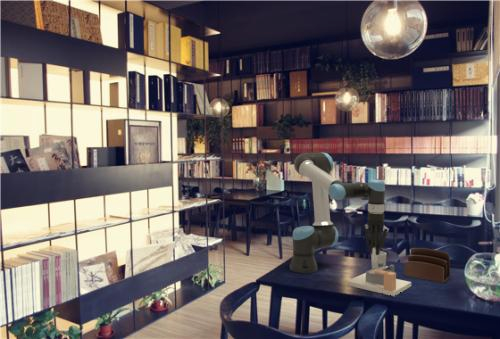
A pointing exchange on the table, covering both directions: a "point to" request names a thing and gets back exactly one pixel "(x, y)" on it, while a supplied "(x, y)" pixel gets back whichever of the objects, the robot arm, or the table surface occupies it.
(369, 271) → the translucent flat bar
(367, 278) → the board
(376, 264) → the cup
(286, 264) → the table surface
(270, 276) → the table surface
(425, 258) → the letter holder
